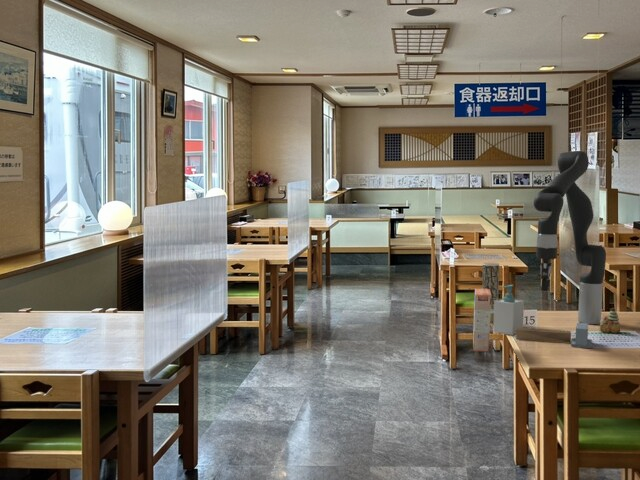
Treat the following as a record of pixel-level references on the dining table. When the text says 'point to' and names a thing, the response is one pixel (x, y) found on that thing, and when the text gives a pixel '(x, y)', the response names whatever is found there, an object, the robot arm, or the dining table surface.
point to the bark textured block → (491, 283)
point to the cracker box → (482, 320)
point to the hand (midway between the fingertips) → (545, 288)
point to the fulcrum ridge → (581, 336)
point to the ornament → (610, 323)
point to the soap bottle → (508, 313)
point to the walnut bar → (543, 335)
